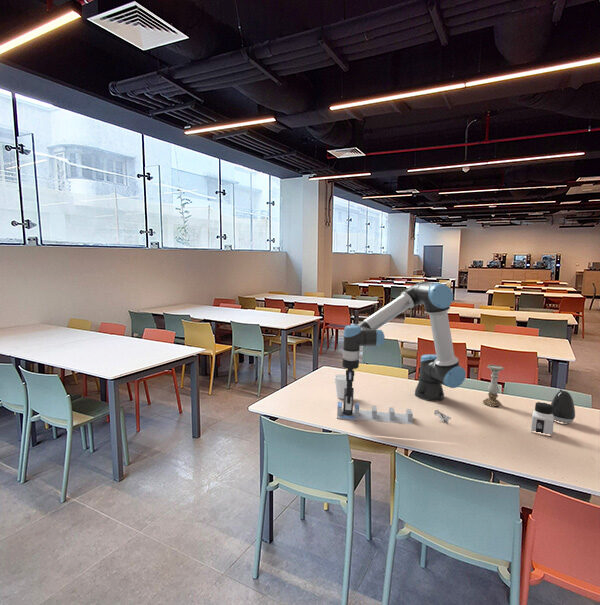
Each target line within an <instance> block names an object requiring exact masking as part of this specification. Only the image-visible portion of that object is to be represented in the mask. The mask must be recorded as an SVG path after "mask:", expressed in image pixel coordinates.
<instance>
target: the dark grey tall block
mask: <svg viewBox="0 0 600 605" xmlns="http://www.w3.org/2000/svg"><path fill="white" fill-rule="evenodd" d="M354 391H355V389H354V387H352V405H351V410H345V406H346V396H345V395H346V393H347V388H344V399H343V403H342V409H343V414H344V415H348V416H350V415H352V413H353V410H354Z"/></svg>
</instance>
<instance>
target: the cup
mask: <svg viewBox="0 0 600 605" xmlns="http://www.w3.org/2000/svg"><path fill="white" fill-rule="evenodd" d="M334 381H335V382H334V383H335V390H336V397H337V398H338V399H340V400H344V388H347V386H346V385H347V381H346V374H337V375H334Z"/></svg>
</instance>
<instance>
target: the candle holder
mask: <svg viewBox="0 0 600 605" xmlns="http://www.w3.org/2000/svg"><path fill="white" fill-rule="evenodd" d="M487 369H489V370H490V371H491V373H492V374H490V377H491V379H490V383H489V385H488V387H487V391H488V393H487V396H488V397H487V398H485V399H483V400H482V403H483V404H484V403H485V404H487V405H486V406H488V405H491V406H501V407H502V405H503V404H502V402H501V401H500V400H498V399H497V398H498V397H499V395H498V394H499V392H500V388H499V385H498V378H500V376H499V373H500V371H503V370H504V369H505V367H503V366H501V365H497V364H488V365H487ZM485 404H484V405H485ZM491 406H490V407H491Z"/></svg>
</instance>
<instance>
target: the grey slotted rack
mask: <svg viewBox="0 0 600 605" xmlns="http://www.w3.org/2000/svg"><path fill="white" fill-rule="evenodd" d="M336 407H337V409H336V410H337V412H336V419H337V420H349V421H357V420H363V421H374V422H382V423H383V422H384V423H393V424H394V423H395V424H404V425H405V424H407V425H414V423H413V417H414V414H413V411H412V409H411V408H406V410H405V411H406V412H405V413H396V412H395V409H394V407H393V406H392V407H391V406H388V412H385V411H384V412H383V411H378V409H377V405H371V410H363V409H361V410H360V403H359V402H358V403H357V402H355V403H354V408H353V413H352V415H350V416H348V415H344V414H343V401H337V406H336Z"/></svg>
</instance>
